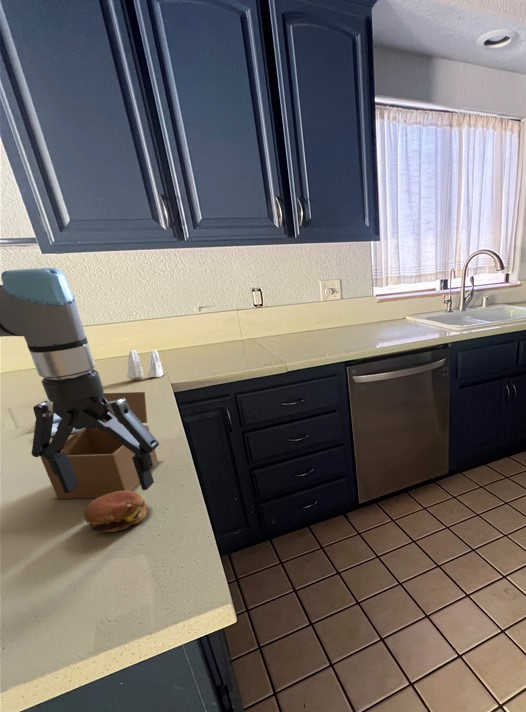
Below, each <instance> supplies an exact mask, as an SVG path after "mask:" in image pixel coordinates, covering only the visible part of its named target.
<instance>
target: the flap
mask: <svg viewBox="0 0 526 712" xmlns="http://www.w3.org/2000/svg"><path fill="white" fill-rule="evenodd" d="M103 395H104V397H105V399H106V400H107V401H108V402H110V401H116V400H118V399H120V398H125V399H126V401H127V403H128V405H129V408H130V410H131V411H132V412H133V413H134V414H135V416H136V417H137V418H138V419H139V420H140V421H141V423H142V424H148V414H147V413H148V412H147V401H146V392H145V391H135V392H134V391H133V392H132V391H131V392H103ZM108 412H109V413H110V414H112V413H111V410H109V411H108ZM112 415H113V416H114V417H116V416H115V414H112ZM116 418H117V417H116ZM117 421H118V422H119V423H120V424H121V422H120V421H119V420H118V419H117ZM106 422H107V420H104V422H103V423H106ZM121 425H122V424H121Z"/></svg>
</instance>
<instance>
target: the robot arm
mask: <svg viewBox="0 0 526 712" xmlns="http://www.w3.org/2000/svg"><path fill="white" fill-rule="evenodd" d="M0 278H1V281H2V284H0V338H1V337H2V338H3V337H23V338H24V340H25V343H26V345H27V348H28V351H29V353H30V356H31V359H32V362H33V364H34V366H35V369H36V373H37V375H38V376H39V377H41V378H42V380H41V384H42V387H43V390H44V392H45V395H46V398H47V399H48V400H44V401H42V402H40V403H38V404H36V405H34V406H33V408H32V409H33V413H34V416H35V424H34V432H33V437H32V438H33V439H32V447H31V455H32V456H33V457H34V458H39V457H40V458H41V457H44V458H45V459H46V460H48V462H49V464H50V467H51V469H52V472H53V473H54V474H55V475H58V477H59V480H60V482H61V485H62V487H63V489H64V492H65V493H70V492H71V491H72V490H74V489H75V488H76V487H77V486H78V485H79V484H78V481H77V479H76V476H75V473H74V471H73V468H72V466H71V463H70V461H69V458H68V456H67V453H62V454H61V455H60V454H59V453H61V452H62V451H63V450H62V449H63V447H64V445H65V443H66V441H67V440H68V439H69V438H70V437H71V435H72V433H71V432H72V430H73V428H75V430H77V429H83V428H87V429H95V428H98V429H99V430H100V431H104V432H106V433H108V434H109V435H110V436H112V437H113V438H114V439H116V440H117V441H118V442H120V443H121V444H122V445H124V446H125V447H126V448H128V449H129V450H130V451H132V452H133V453H134V454H136V455H134V456H133V457H132V459H133V462H134V465H135V468H136V471H137V475H138V478H139V481H140V483H139V484H140V487H141V490H142V491H147V490H148V489H149V488H151V486H152V485H153V484H154V482H155V481H154V477H153V474H152V470H153V469H154V468H153V463H152V459H151V456H150V453H151V452H152V451H153V450H154V449H157V448H158V446H159V445H160V443H159V441H158V440H157V439H156V438H155V436H154V435H153V434H152V433H151V432H149V431H150V430H149V431H148V430H147V428H146V427H145V426H146V425H144V423H141V421H140V420H139V419H138V418H137V417H136V416H135V414H134V413H133V412H132V411H131V410H130V408H129V405H128V403H127V401H126V399H125V398H120V399H118V400H116V401H110V402H108V401H107V400H106V399H105V397H104V395H103V393H104V385H103V383H102V380H101V377H100V375H99V371H98V370H96V369H95V368H96V363H95V359H94V356H93V353H92V350H91V347H90V344H89V342H88V338H87V336H86V333H85V330H84V326H83V323H82V320H81V316H80V314H79V310H78V306H77V303H76V296H75V295H74V294H73V291H72V289H71V287H70V284H69V281H68V280H67V277H66V275H65V273H64V272H63V271H61V270H60V269H59V268H56V267H40V268H21V269H10V270H5V271H3V272H1V275H0ZM109 410H111V413H112V414H115V416H116V417H117V418H116V417H114V416H113V415H112V414H110V413H109V412H108V411H109ZM54 414H56V415H58V416H59V417H60V418H61V421H60V423H59V425H58V427H57V431H56V433H55V435H54V436H51V432H52V426H53V419H54ZM117 419H118V420H119V421H120V422H121V424H120V423H119V422H118V421H117ZM104 420H107V422H106V423H103V422H104ZM51 438H52V439H51ZM152 468H153V469H152ZM151 469H152V470H151ZM150 470H151V471H150Z"/></svg>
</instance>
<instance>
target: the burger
mask: <svg viewBox="0 0 526 712" xmlns="http://www.w3.org/2000/svg"><path fill="white" fill-rule="evenodd" d="M146 506H147V505H146V502H145V500H144V498H143V497H142V495H141V494H140V493H138V492H136V491H133V490H132V491H127V490H125V491H116V492H113V493H109V494H106V495H103V496H101V497H96V498H95V499H94V500H92V501H90V503H88V505H87V506H86V507H85V509H84V513H83V515H84V519H85V521H86V523H88V524H89V525H90V527H91V529H92V530H93V531H96V532H97V531H98V532H102V533H111V532H112V533H113V532H114V533H115V532H116V533H117V532H119V531H124V530H127V529H128V528H129V527H130V526H131V525H138V524H140V523H141V522H143V520H145V519H146V517H147V513H148V510H147V507H146Z"/></svg>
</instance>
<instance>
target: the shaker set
mask: <svg viewBox="0 0 526 712" xmlns="http://www.w3.org/2000/svg"><path fill="white" fill-rule="evenodd" d="M137 352H138V351H137V350H136V349H133V350H130V351H129V353H128V357H127V358H128V359H127V375H126V376H127V378H128V379H130V380H131V381H132V380H133V381H135V380H140V379H142V377H143V376H144V371H143V368H142V365H141V364H142V363H141V361H140V357H139V355H138V353H137ZM162 367H163V366H162V364H161V359H160V356H159V353H158V351H157V350H156V349H154V350H152V351H151V352H150V354H149V360H148V378H159V377H160V378H161V377H162V376H163V375H164V371H163V368H162Z"/></svg>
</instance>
